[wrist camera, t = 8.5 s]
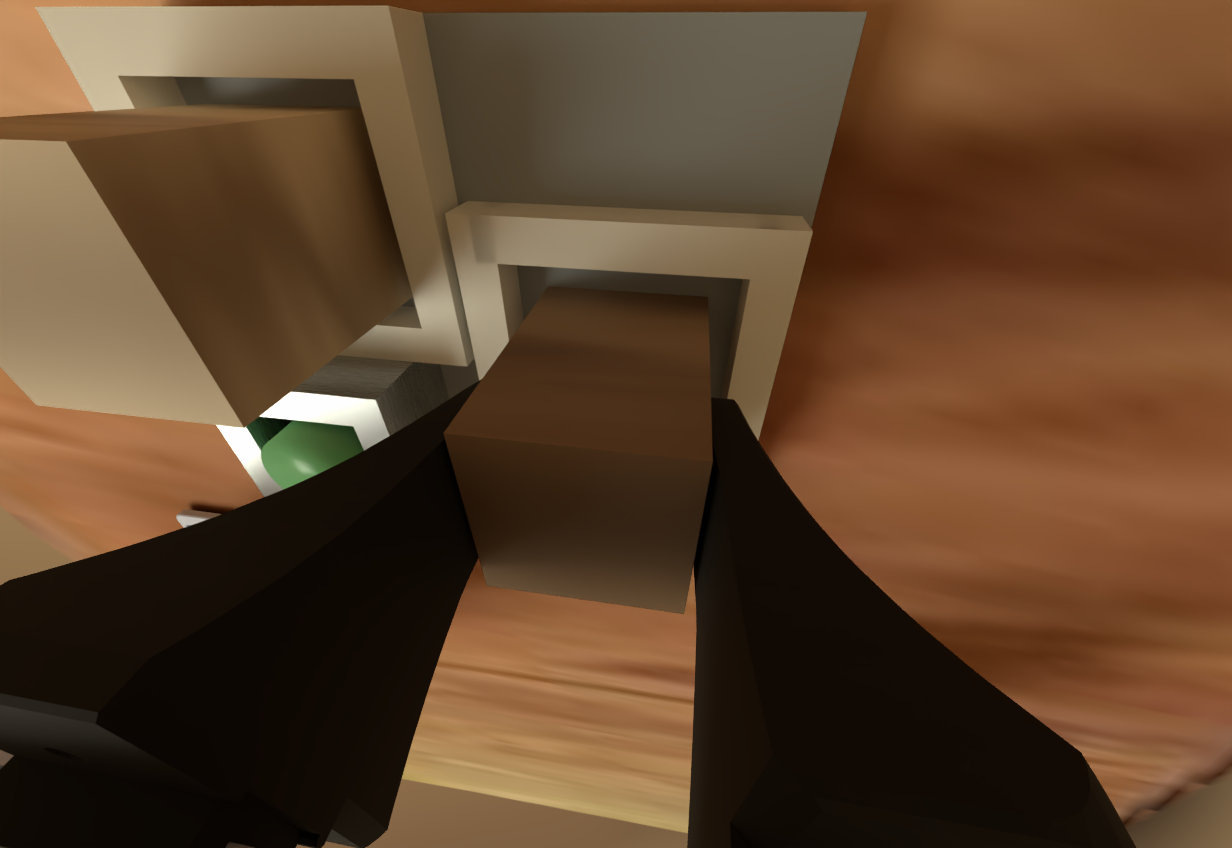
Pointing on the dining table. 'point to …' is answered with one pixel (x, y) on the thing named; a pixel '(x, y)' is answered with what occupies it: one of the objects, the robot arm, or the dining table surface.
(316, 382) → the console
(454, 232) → the grey compartment tray
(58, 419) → the dining table surface
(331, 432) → the button
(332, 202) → the beech block
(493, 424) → the walnut block
